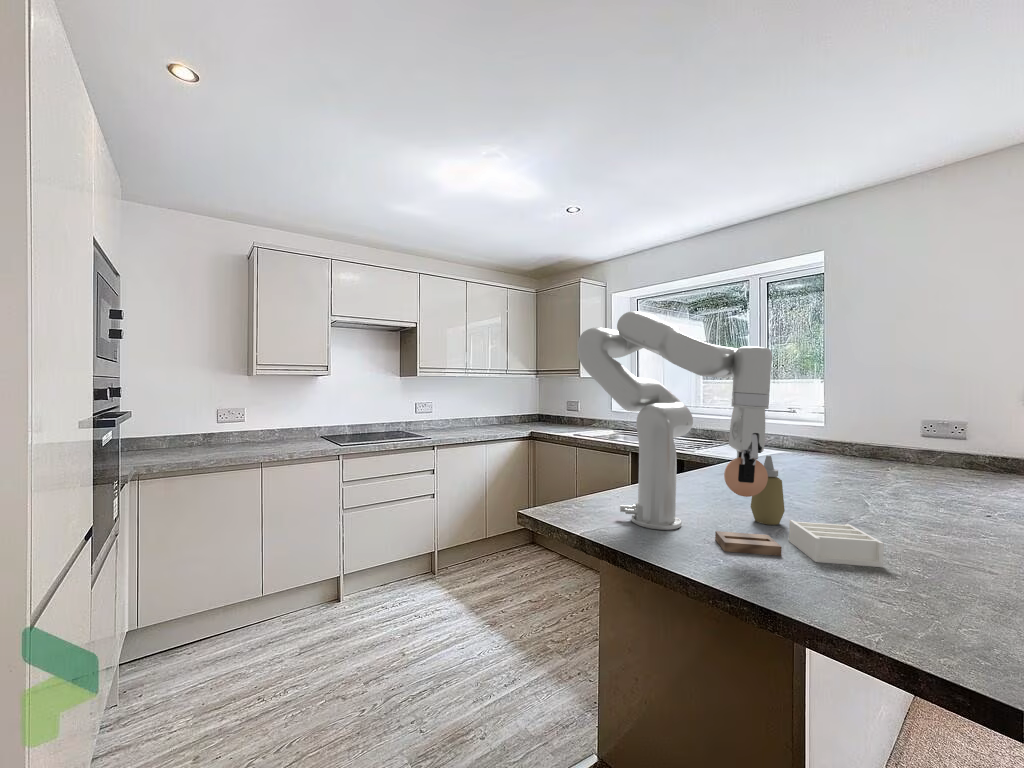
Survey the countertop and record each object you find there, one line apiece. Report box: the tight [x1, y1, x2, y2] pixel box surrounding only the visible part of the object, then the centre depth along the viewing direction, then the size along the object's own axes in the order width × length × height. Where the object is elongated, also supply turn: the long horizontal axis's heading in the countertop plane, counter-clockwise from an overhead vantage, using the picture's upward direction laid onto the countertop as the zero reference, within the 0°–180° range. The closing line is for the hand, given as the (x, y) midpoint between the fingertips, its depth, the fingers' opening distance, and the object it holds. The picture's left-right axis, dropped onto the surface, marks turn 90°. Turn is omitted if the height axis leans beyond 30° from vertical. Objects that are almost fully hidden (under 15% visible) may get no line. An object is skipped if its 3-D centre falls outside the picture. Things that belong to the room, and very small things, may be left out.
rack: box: [788, 519, 885, 568], centre depth 103 cm, size 13×13×5 cm
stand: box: [714, 530, 783, 557], centre depth 105 cm, size 12×8×2 cm
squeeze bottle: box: [750, 455, 785, 526], centre depth 125 cm, size 8×8×18 cm
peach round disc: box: [723, 457, 768, 498], centre depth 106 cm, size 1×9×9 cm, turn 80°
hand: (744, 480), depth 106 cm, fingers closed on peach round disc, 1 cm apart
